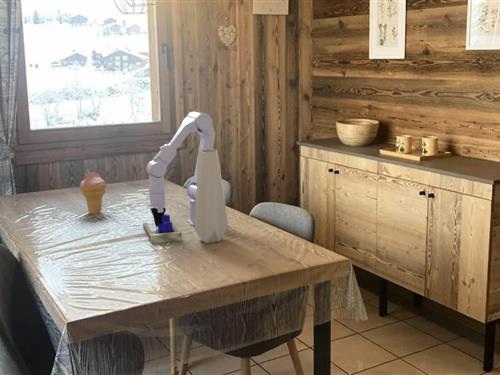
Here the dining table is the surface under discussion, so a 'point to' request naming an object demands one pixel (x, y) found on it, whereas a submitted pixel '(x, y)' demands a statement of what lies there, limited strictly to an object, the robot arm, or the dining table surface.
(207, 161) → the vase
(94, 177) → the ice cream cone
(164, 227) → the cable clip
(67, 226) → the dining table surface
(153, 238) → the guide
